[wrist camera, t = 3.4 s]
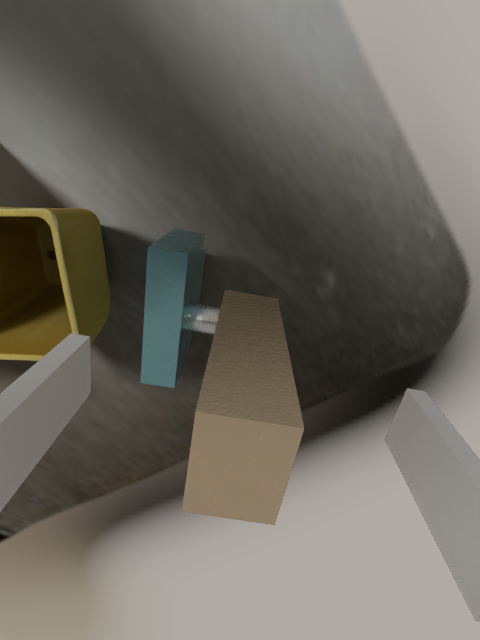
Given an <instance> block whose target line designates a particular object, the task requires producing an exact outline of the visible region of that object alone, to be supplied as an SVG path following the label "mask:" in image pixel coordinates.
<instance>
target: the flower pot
mask: <svg viewBox="0 0 480 640" xmlns="http://www.w3.org/2000/svg"><path fill="white" fill-rule="evenodd" d="M50 251H53V252H54V253H55V254H56V257H55V258H52V257H50V255H49V252H50ZM110 303H111V296H110V286H109V280H108V274H107V267H106V260H105V253H104V247H103V240H102V232H101V226H100V222H99V219H98V218H97V216H96V215H95V214H94V213H93V212H91V211H89V210H86V209H80V208H19V207H0V359H1V360H29V361H39V360H40V359H41V358H43V357H44V356H45V355H46V354H47V353H48V352H50V351H51V350H52V349H53V348H54V347H55V346H57V345H58V344H59V343H60V342H61V341H62V340H64V339H65V338H66V337H67V336H68V335H70V334H71V333H72V334H78V335H84V336H90V347H91V345H92V344H93V342H94V340H95V339H96V337H97V336H98V334H99V333H100V331H101V329H102V328H103V326H104V324H105V323H106V321H107V318H108V315H109V311H110Z"/></svg>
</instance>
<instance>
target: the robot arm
mask: <svg viewBox="0 0 480 640" xmlns="http://www.w3.org/2000/svg"><path fill="white" fill-rule="evenodd" d="M90 393H91V373H90V336H84V335H78V334H72V333H71V334H70V335H68V336H67V337H66V338H65V339H64V340H62V341H61V342H60V343H59V344H58V345H57V346H55V347H54V348H53V349H52V350H51V351H50V352H48V353H47V354H46V355H45V356H44V357H43V358H41V359H40V360H39V361H38V362H37V363H36V364H34V365H33V366H32V367H31V368H30V369H28V370H27V371H26V372H25V373H24V374H23V375H21V376H20V377H19V378H18V379H17V380H16V381H14V382H13V383H12V384H11V385H10V386H9V387H7V388H6V389H5V390H4V391H3V392H1V393H0V512H1V510H2V509H3V508H4V507H5V505H6V504H7V503H8V501H9V500H10V499H11V497H12V496H13V495H14V493H15V492H16V491H17V489H18V488H19V487H20V485H21V484H22V483H23V481H24V480H25V479H26V478H27V476H28V475H29V474H30V472H31V471H32V470H33V468H34V467H35V466H36V464H37V463H38V462H39V460H40V459H41V458H42V456H43V455H44V454H45V452H46V451H47V450H48V449H49V447H50V446H51V445H52V443H53V442H54V441H55V439H56V438H57V437H58V435H59V434H60V433H61V431H62V430H63V429H64V427H65V426H66V425H67V423H68V422H69V421H70V419H71V418H72V417H73V416H74V414H75V413H76V412H77V410H78V409H79V408H80V406H81V405H82V404H83V402H84V401H85V400H86V398H87V397H88V396H89V394H90ZM385 440H386V442H387V444H388V446H389V448H390V450H391V452H392V454H393V456H394V458H395V460H396V462H397V464H398V466H399V468H400V470H401V472H402V474H403V476H404V478H405V481H406V483H407V485H408V487H409V489H410V491H411V492H412V494H413V497H414V498H415V501H416V502H417V505H418V506H419V508H420V511H421V512H422V515H423V516H424V518H425V521H426V523H427V524H428V527H429V529H430V531H431V533H432V535H433V536H434V539H435V541H436V543H437V545H438V547H439V549H440V551H441V553H442V555H443V557H444V559H445V561H446V563H447V565H448V567H449V569H450V571H451V572H452V575H453V577H454V579H455V581H456V583H457V585H458V586H459V589H460V591H461V593H462V595H463V597H464V599H465V601H466V603H467V605H468V607H469V609H470V611H471V613H472V615H473V617H474V619H475V621H480V460H479V458H478V457H477V456H476V454H475V453H474V452H473V451H472V449H471V448H470V447H469V446H468V444H467V443H466V442H465V441H464V439H463V438H462V437H461V436H460V434H459V433H458V432H457V431H456V429H455V428H454V427H453V425H452V424H451V423H450V422H449V420H448V419H447V418H446V417H445V415H444V414H443V413H442V412H441V410H440V409H439V408H438V407H437V405H436V404H435V403H434V402H433V400H432V399H431V398H430V397H429V395H428V394H427V393H426V392H425V391H420V390H414V389H407V390H406V392H405V395H404V397H403V399H402V402H401V404H400V406H399V408H398V411H397V413H396V415H395V418H394V420H393V422H392V425H391V427H390V429H389V432H388V434H387V436H386V438H385Z"/></svg>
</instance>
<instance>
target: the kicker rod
mask: <svg viewBox="0 0 480 640" xmlns="http://www.w3.org/2000/svg"><path fill="white" fill-rule="evenodd" d="M203 241H204V234H200V233H194V232H188V231H182V230H177V229H173V230H172V231H170V232H169V233H168V234H166V235H165V236H163V237H162V238H160V239H159V240H157V241H156V242H155V243H153V244H152V245H150V246H149V247H148V250H147V269H146V288H145V307H144V326H143V345H142V364H141V383H145V384H151V385H158V386H164V387H171V388H175V385H176V383H177V380H178V377H179V374H180V372H181V369H182V366H183V363H184V361H185V358H186V355H187V352H188V350H189V347H190V344H191V342H192V333H193V331H194V332H200V333H206V334H212V335H214V337H213V341H212V345H211V349H210V354H209V358H208V362H207V366H206V370H205V375H204V379H203V383H202V387H201V391H200V395H199V400H198V404H197V408H196V412H195V420H194V427H193V434H192V441H191V449H190V456H189V463H188V470H187V478H186V485H185V492H184V499H183V507H182V512H188V513H196V514H202V515H209V516H216V517H223V518H230V519H238V520H244V521H251V522H257V523H265V524H271V525H275V522H276V519H277V515H278V512H279V509H280V505H281V502H282V499H283V496H284V492H285V489H286V486H287V483H288V480H289V476H290V473H291V469H292V466H293V463H294V460H295V457H296V454H297V450H298V447H299V444H300V441H301V437H302V434H303V431H304V425H303V420H302V415H301V410H300V405H299V400H298V395H297V390H296V385H295V381H294V376H293V371H292V366H291V361H290V356H289V351H288V346H287V341H286V337H285V332H284V327H283V322H282V317H281V312H280V307H279V302H278V298H272V297H266V296H260V295H254V294H248V293H242V292H236V291H230V290H225V291H224V295H223V299H222V304H221V308H217V307H211V306H205V305H199V304H200V296H201V288H202V280H203V272H204V264H205V256H206V249H203Z"/></svg>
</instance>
